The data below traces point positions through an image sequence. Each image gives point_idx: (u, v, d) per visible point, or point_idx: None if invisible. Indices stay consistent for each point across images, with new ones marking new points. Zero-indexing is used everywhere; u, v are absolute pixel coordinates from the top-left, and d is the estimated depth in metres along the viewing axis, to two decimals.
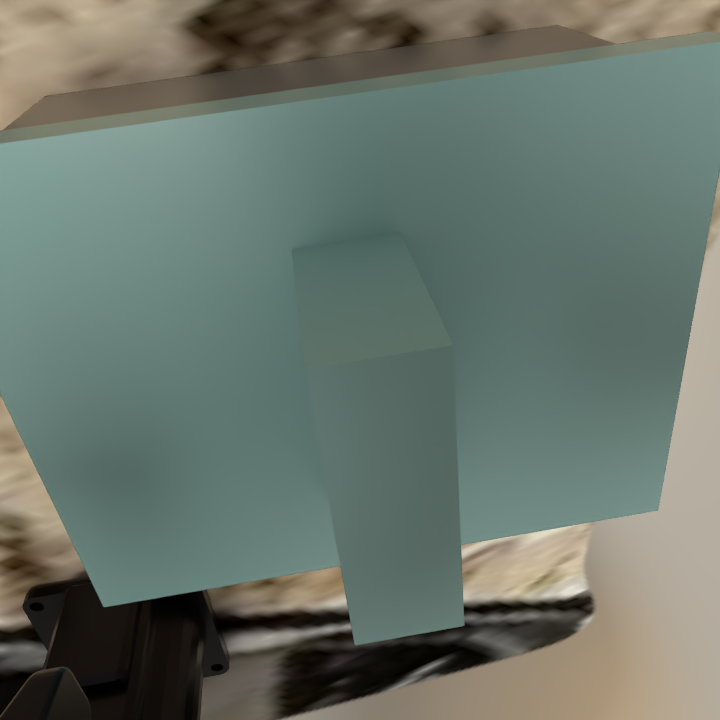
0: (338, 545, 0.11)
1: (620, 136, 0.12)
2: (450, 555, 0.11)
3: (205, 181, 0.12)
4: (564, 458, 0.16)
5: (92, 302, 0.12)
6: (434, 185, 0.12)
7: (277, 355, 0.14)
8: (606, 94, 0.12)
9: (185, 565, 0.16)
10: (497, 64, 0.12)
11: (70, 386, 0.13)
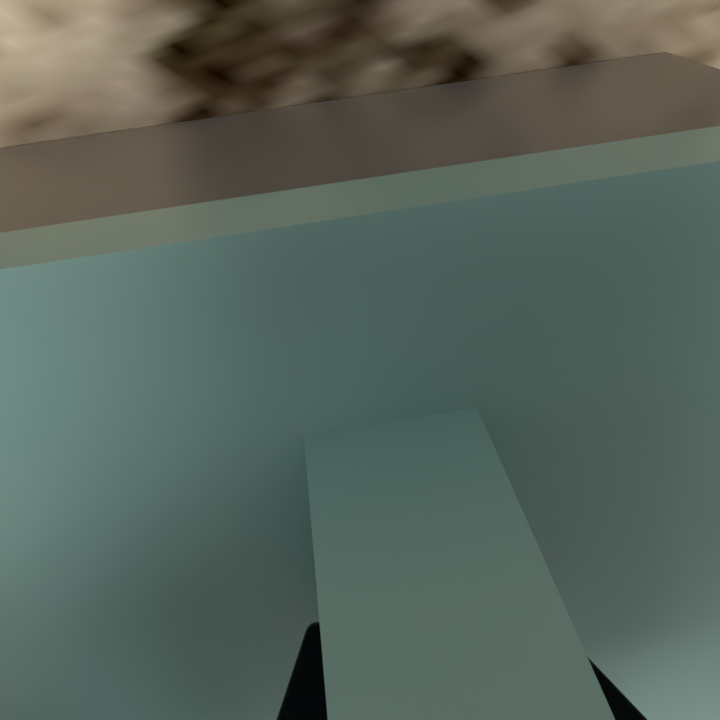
0: None
1: None
2: None
3: (161, 346, 0.07)
4: (684, 669, 0.11)
5: None
6: (536, 340, 0.07)
7: (281, 571, 0.09)
8: None
9: None
10: (645, 146, 0.07)
11: None
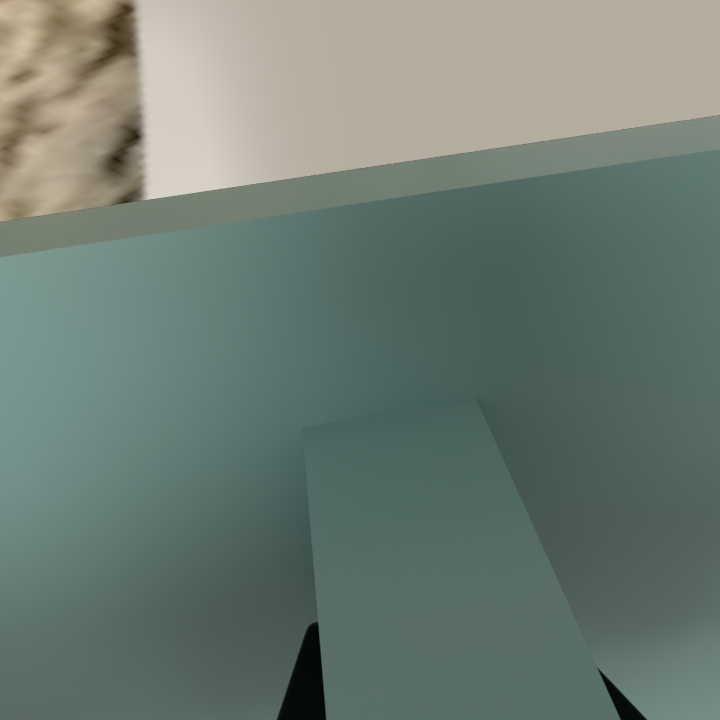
0: None
1: None
2: None
3: (158, 335, 0.07)
4: (684, 664, 0.11)
5: None
6: (536, 331, 0.07)
7: (279, 565, 0.09)
8: None
9: None
10: (645, 135, 0.07)
11: None
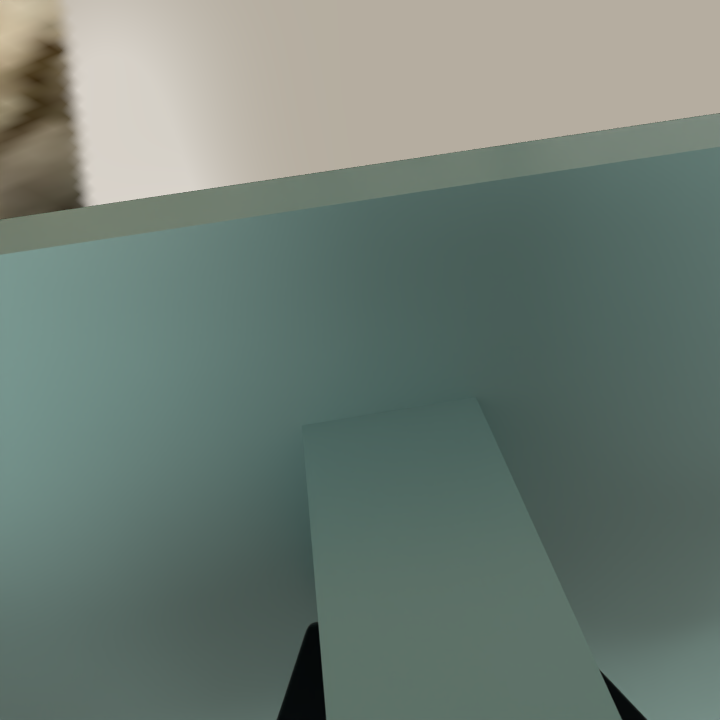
0: None
1: None
2: None
3: (158, 333, 0.07)
4: (684, 662, 0.11)
5: None
6: (535, 329, 0.07)
7: (279, 563, 0.09)
8: None
9: None
10: (645, 133, 0.07)
11: None
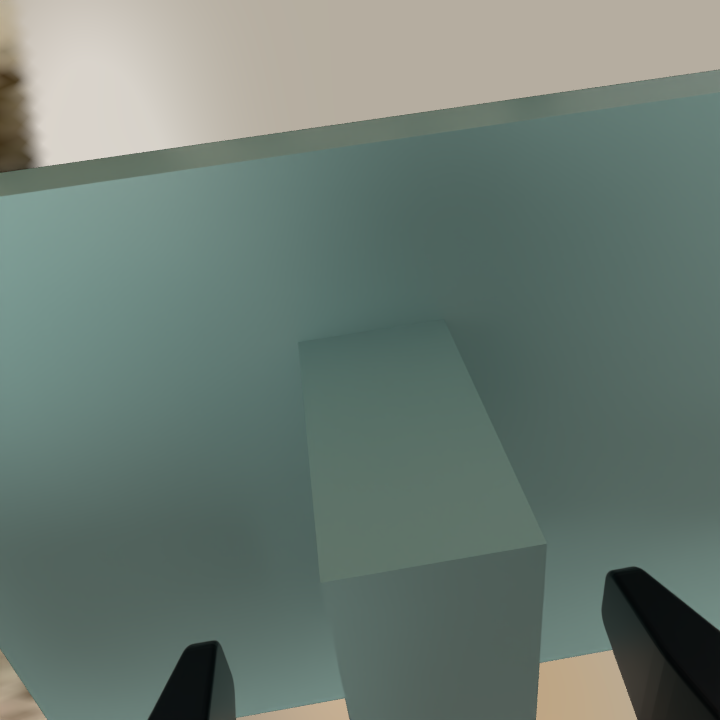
0: None
1: None
2: None
3: (180, 258, 0.08)
4: None
5: (32, 412, 0.09)
6: (492, 259, 0.09)
7: (279, 469, 0.10)
8: None
9: None
10: (581, 95, 0.09)
11: (9, 511, 0.10)
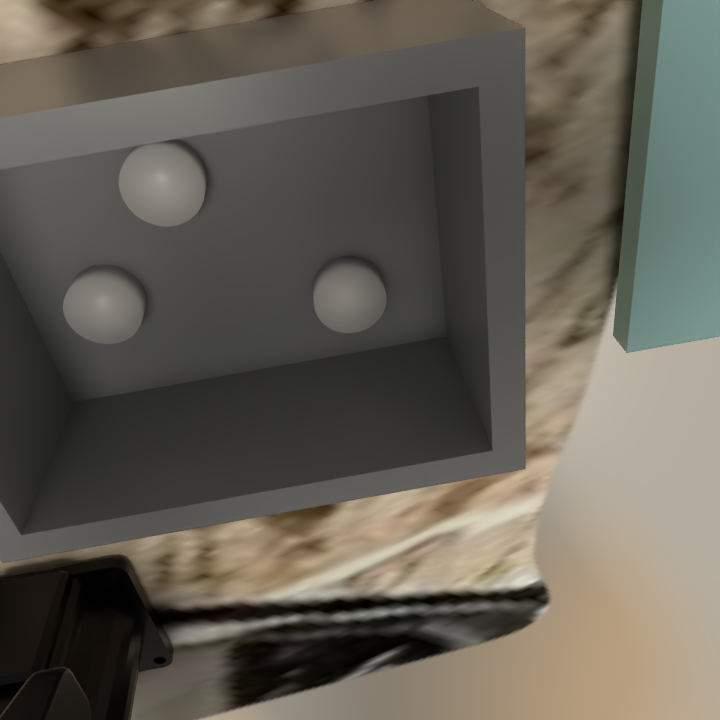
0: None
1: None
2: None
3: None
4: None
5: None
6: None
7: None
8: None
9: (703, 313, 0.20)
10: None
11: (699, 135, 0.17)
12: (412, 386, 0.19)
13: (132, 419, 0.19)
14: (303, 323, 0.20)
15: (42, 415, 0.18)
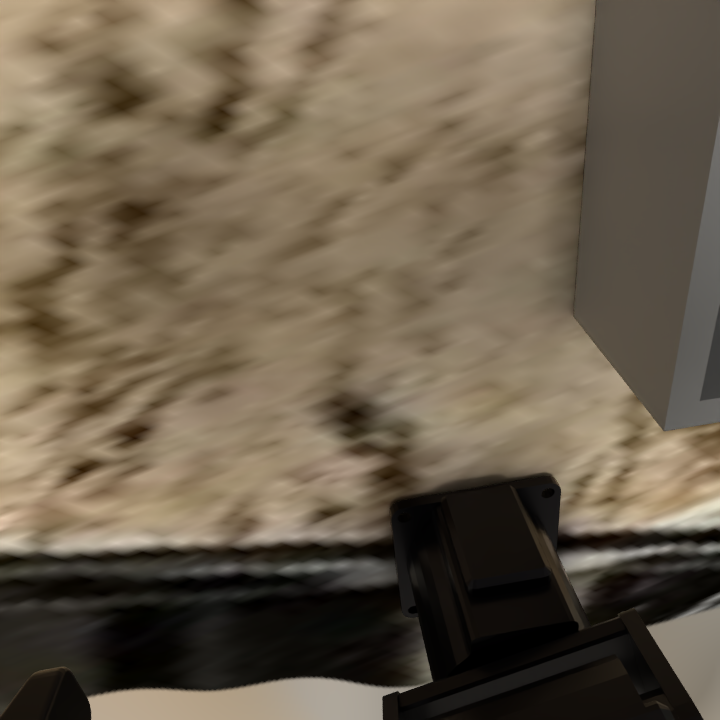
0: None
1: None
2: None
3: None
4: None
5: None
6: None
7: None
8: None
9: None
10: None
11: None
12: None
13: None
14: None
15: None
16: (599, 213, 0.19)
